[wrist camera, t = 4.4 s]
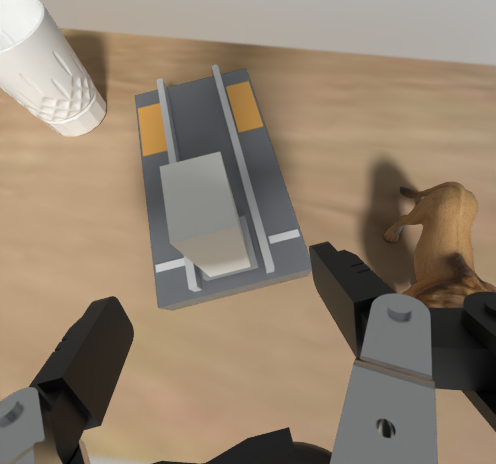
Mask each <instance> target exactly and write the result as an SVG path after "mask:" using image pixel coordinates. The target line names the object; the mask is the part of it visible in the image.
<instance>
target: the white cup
mask: <svg viewBox="0 0 496 464" xmlns="http://www.w3.org/2000/svg"><path fill="white" fill-rule="evenodd" d="M0 88H2V89H3V90H4V91H5V92H6V93H8V94H9V95H10V96H11V97H12V98H14V99H15V100H16V101H18V102H19V103H20V104H21V105H23V106H24V107H25V108H26V109H27V110H29V111H30V112H31V113H32V114H34V115H35V116H36V117H38V118H40V119H41V120H42V121H43V122H45V123H46V124H47V125H48V126H49V127H50V128H52V129H53V130H54V131H55V132H57V133H59V134H61V135H63V136H75V137H77V136H80V135H83V134H86V133H88V132H90V131H92V130H93V129H94V128H95V127H97V126H98V125H99V124H100V123H101V121H102V120H103V118H104V116H105V115H106V103H105V101H104V99H103V98H102V96H101V95H100V93H99V92H98V90H97V89H96V87H95V85H94V84H93V81H92V79H91V77H90V76H89V74H88V73H87V71H86V69H85V68H84V66H83V65H82V63H81V62H80V60H79V59H78V57H77V55H76V53H75V52H74V50H73V49H72V47H71V46H70V44H69V43H68V41H67V40H66V38H65V37H64V35H63V34H62V32H61V31H60V29H59V28H58V26H57V25H56V23H55V22H54V20H53V19H52V17H51V16H50V14H49V12H48V11H47V9H46V8H45V6H44V5H43V3H42V2H41V1H40V0H0Z"/></svg>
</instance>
